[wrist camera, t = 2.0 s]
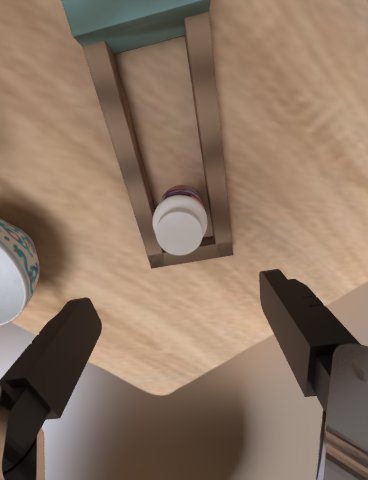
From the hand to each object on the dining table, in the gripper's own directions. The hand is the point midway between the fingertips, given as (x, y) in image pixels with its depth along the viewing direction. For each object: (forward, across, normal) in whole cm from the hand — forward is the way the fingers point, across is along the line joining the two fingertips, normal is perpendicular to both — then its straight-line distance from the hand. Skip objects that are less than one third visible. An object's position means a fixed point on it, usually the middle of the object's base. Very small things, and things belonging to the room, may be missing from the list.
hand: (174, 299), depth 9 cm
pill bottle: (+18, 0, 0) cm, 18 cm away
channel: (+17, 0, -6) cm, 18 cm away
